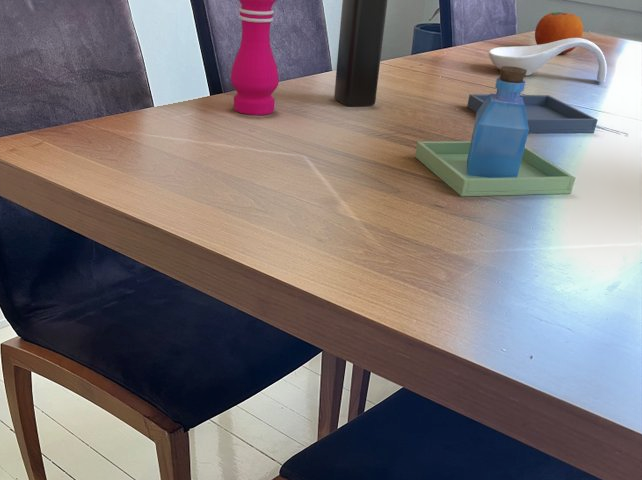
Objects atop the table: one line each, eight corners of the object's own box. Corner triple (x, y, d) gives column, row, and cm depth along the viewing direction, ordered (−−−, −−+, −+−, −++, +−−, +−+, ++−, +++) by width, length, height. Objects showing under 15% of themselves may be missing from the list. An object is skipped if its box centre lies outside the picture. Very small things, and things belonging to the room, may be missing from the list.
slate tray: (545, 107, 128) (549, 95, 126) (594, 132, 116) (598, 119, 115) (466, 107, 124) (469, 94, 123) (508, 133, 112) (511, 119, 111)
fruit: (575, 51, 175) (585, 12, 170) (578, 59, 167) (589, 19, 162) (530, 45, 176) (539, 7, 171) (531, 53, 168) (540, 13, 163)
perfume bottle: (516, 181, 93) (541, 77, 85) (467, 175, 93) (488, 71, 86) (513, 166, 98) (537, 67, 90) (467, 160, 98) (487, 61, 91)
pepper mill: (237, 101, 116) (239, -51, 103) (282, 107, 115) (289, -46, 103) (224, 112, 110) (224, -47, 98) (271, 118, 109) (277, -42, 97)
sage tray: (514, 155, 103) (517, 140, 102) (571, 193, 92) (575, 177, 91) (414, 156, 100) (417, 141, 98) (461, 196, 88) (464, 179, 87)
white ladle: (485, 74, 146) (493, 34, 141) (485, 63, 155) (492, 25, 150) (606, 89, 143) (618, 47, 139) (599, 76, 152) (610, 38, 148)
